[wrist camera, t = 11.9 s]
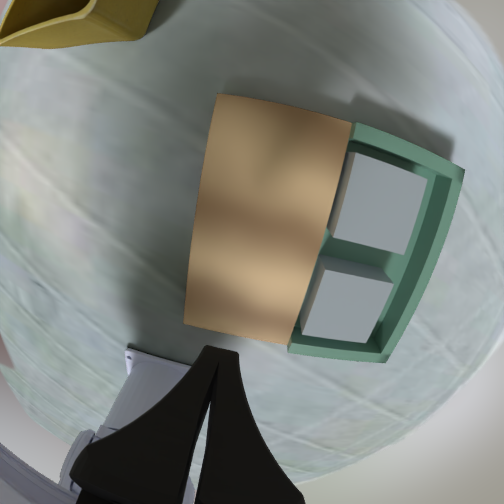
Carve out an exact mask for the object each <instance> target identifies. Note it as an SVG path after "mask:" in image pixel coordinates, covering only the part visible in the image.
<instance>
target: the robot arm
mask: <svg viewBox="0 0 504 504" xmlns="http://www.w3.org/2000/svg"><path fill="white" fill-rule="evenodd" d="M125 359H126V366H127V373H128V378H127V380H126V381H125V383H124V385H123V387H122V389H121V391H120V393H119V395H118V397H117V398H116V400H115V402H114V404H113V406H112V408H111V410H110V412H109V414H108V416H107V418H106V420H105V422H104V424H103V425H100V427H99V429H98V431H97V433H96V435H95V432H94V431H93V430H91V429H88V430H85V431H81V432H80V433H79V435H78V436H77V438H76V439H75V441H74V443H73V444H72V446H71V448H70V450H69V452H68V454H67V456H66V459H65V461H64V464H63V466H62V469H61V473H60V481H59V484H57V483H55V482H53V481H52V480H50V479H49V478H47V477H45V476H44V475H42V474H41V473H39V472H38V471H36V470H35V469H34V468H32V467H31V466H29V465H28V464H26V463H25V462H24V461H22V460H21V459H20V458H18V457H17V456H16V455H15V454H13V453H12V452H11V451H10V450H8V449H7V448H6V447H5V446H3V445H2V444H1V443H0V504H193V502H194V493H195V492H194V485H193V483H192V481H191V478H190V477H189V471H190V467H191V462H192V458H193V453H194V449H195V446H196V442H197V439H198V436H199V433H200V430H201V428H202V425H203V422H204V419H205V416H206V413H207V410H208V407H209V404H210V411H209V420H208V429H207V439H206V447H205V454H204V459H203V463H202V468H201V473H200V478H199V483H198V488H197V493H196V498H195V502H194V504H305V500H304V497H303V495H302V493H301V492H300V491H299V490H298V489H297V488H296V487H295V485H294V484H293V483H292V482H291V481H290V479H289V478H288V477H287V476H286V474H285V473H284V471H283V470H282V469H281V467H280V466H279V465H278V463H277V461H276V460H275V458H274V457H273V455H272V453H271V452H270V450H269V449H268V447H267V445H266V443H265V441H264V439H263V438H262V436H261V434H260V431H259V429H258V427H257V425H256V423H255V420H254V418H253V415H252V413H251V410H250V407H249V404H248V401H247V398H246V394H245V390H244V387H243V382H242V378H241V372H240V365H239V354H238V353H237V352H235V351H230V350H226V349H222V348H217V347H213V346H209V345H206V346H204V348H203V350H202V352H201V353H200V355H199V357H198V358H197V360H196V361H195V362H194V364H193V365H192V366H189V365H185V364H181V363H177V362H173V361H170V360H166V359H163V358H159V357H156V356H152V355H149V354H146V353H143V352H140V351H136V350H133V349H130V348H127V349H126V350H125ZM210 401H211V402H210Z"/></svg>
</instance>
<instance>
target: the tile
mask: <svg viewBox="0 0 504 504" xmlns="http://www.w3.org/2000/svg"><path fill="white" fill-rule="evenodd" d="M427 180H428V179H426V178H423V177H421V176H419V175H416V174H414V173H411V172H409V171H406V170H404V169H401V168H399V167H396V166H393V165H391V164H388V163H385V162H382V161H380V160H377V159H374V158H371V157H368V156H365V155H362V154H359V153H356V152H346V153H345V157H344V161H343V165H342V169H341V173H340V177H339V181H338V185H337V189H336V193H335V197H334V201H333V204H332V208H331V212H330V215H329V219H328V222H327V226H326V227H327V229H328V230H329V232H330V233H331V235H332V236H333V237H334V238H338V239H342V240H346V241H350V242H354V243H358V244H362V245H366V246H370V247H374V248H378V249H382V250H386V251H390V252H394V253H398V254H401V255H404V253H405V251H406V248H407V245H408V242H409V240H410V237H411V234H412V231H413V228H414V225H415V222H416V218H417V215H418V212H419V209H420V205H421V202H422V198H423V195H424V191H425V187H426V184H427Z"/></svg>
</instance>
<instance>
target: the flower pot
mask: <svg viewBox="0 0 504 504" xmlns="http://www.w3.org/2000/svg"><path fill="white" fill-rule="evenodd" d="M158 2H159V0H12V2H11V4H10V6H9V8H8V10H7V12H6V14H5V16H4V19H3V21H2V23H1V26H0V46H9V47H28V48H42V49H56V48H66V47H73V46H80V45H86V44H94V43H103V42H116V41H135V40H138V39H141V38H142V37H143V36H144V35H145V33H146V30H147V28H148V25H149V23H150V20H151V18H152V15H153V13H154V11H155V8H156V6H157V4H158Z"/></svg>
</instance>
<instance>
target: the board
mask: <svg viewBox="0 0 504 504" xmlns="http://www.w3.org/2000/svg"><path fill="white" fill-rule="evenodd" d="M351 126H352V123H350V122H347V121H344V120H341V119H338V118H334V117H331V116H327V115H324V114H320V113H317V112H313V111H309V110H305V109H301V108H297V107H293V106H289V105H284V104H279V103H275V102H270V101H265V100H259V99H254V98H248V97H242V96H235V95H228V94H220V93H217V97H216V101H215V106H214V110H213V115H212V120H211V125H210V130H209V135H208V140H207V146H206V151H205V156H204V162H203V168H202V174H201V180H200V186H199V192H198V199H197V205H196V212H195V219H194V226H193V234H192V242H191V250H190V258H189V267H188V276H187V286H186V296H185V308H184V320H183V324H187V325H191V326H195V327H199V328H204V329H208V330H212V331H217V332H221V333H226V334H231V335H235V336H240V337H245V338H251V339H256V340H261V341H267V342H272V343H278V344H284V345H288V342H289V339H290V336H291V334H292V331H293V328H294V325H295V323H296V320H297V317H298V314H299V311H300V308H301V305H302V303H303V300H304V297H305V294H306V291H307V288H308V285H309V282H310V278H311V275H312V272H313V269H314V266H315V263H316V259H317V256H318V253H319V250H320V246H321V243H322V240H323V236H324V233H325V229H326V226H327V222H328V219H329V215H330V212H331V208H332V204H333V201H334V197H335V193H336V189H337V185H338V181H339V177H340V173H341V169H342V165H343V161H344V157H345V153H346V148H347V144H348V139H349V135H350V130H351Z"/></svg>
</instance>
